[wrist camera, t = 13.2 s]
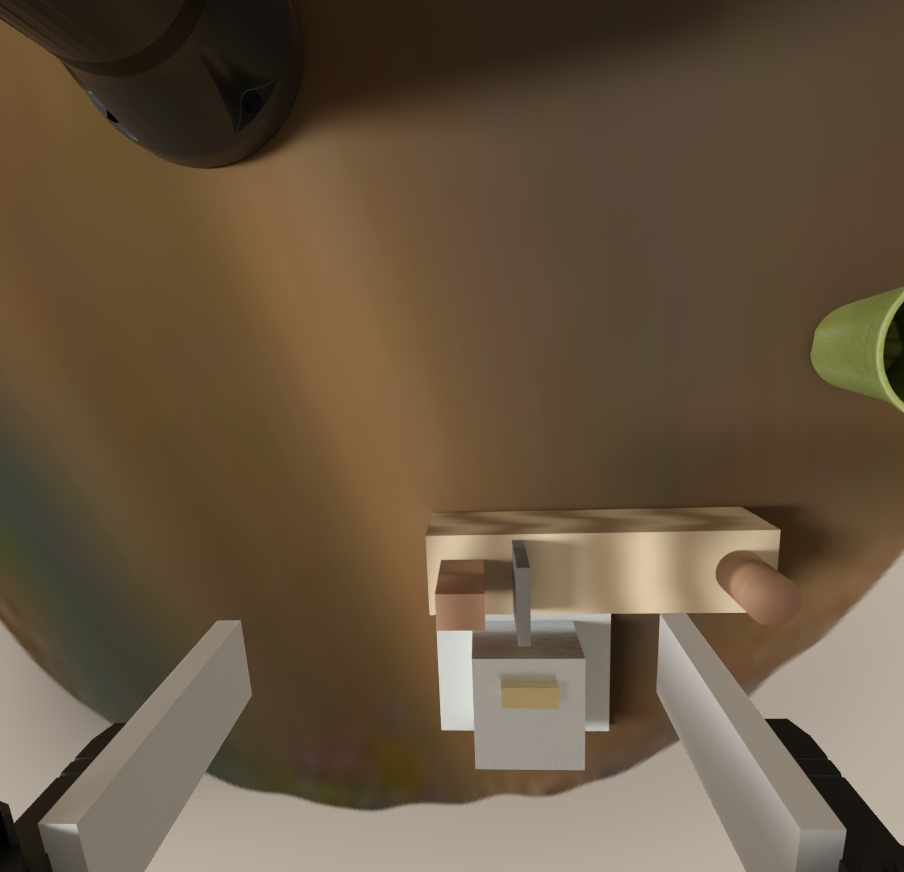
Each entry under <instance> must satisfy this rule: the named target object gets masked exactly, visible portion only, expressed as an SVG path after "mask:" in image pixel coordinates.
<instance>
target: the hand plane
mask: <svg viewBox="0 0 904 872" xmlns="http://www.w3.org/2000/svg"><path fill="white" fill-rule="evenodd" d="M780 532H781V530H780V529H778V528H777V527H775V526H773V525H772V524H770V523H768V522H767V521H765V520H763V519H761V518H760V517H758V516H756V515H755V514H753V513H751V512H750V511H748V510H746V509H745V508H743V507H700V508H650V509H600V510H550V511H499V512H449V513H432V516H431V519H430V523H429V526H428V530H427V533H426V552H427V572H428V592H429V612H430V615H436V630H437V631H485V615H494V614H514V620H515V627H516V635H517V642H518V646H531V614H624V613H748V614H749V615H750V616H751V617H752V618H753V619H754V620H756V621H757V622H759V623H761V624H764V625H768V626H776V625H780V624H783V623H786V622H788V621H789V620H791V619H792V618H793V617H794V616H795V615H796V614H797V612H798V611H799V609H800V606H801V593H800V590H799V588H798V587H797V586H796V584H795V583H793V582H792V581H791V580H789V579H788V578H787V577H785V576H784V575H783V574H781V573H780V572H779V571H777V570H778V557H779V545H780Z"/></svg>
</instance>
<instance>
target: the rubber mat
mask: <svg viewBox="0 0 904 872" xmlns="http://www.w3.org/2000/svg"><path fill="white" fill-rule="evenodd" d="M560 620H572V621H573V624H574V627H575V630H576V633H577V635H578V638H579V641H580V644H581V647H582V650H583V653H584V656H585V658H586V672H585V731H609V697H610V639H611V614H531V621H560ZM485 621H515V620H514V614H494V615H485ZM437 645H438V666H439V687H440V708H441V729H442V730H474V708H473V680H472V631H437Z"/></svg>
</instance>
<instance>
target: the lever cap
mask: <svg viewBox="0 0 904 872" xmlns="http://www.w3.org/2000/svg"><path fill="white" fill-rule="evenodd" d="M585 672H586V658H585V656H584V653H583V650H582V647H581V644H580V641H579V638H578V635H577V633H576V630H575V627H574V624H573V621H572V620H560V621H531V646H518V642H517V635H516V627H515V621H485V631H472V680H473V708H474V736H475V764H476V769H520V770H585Z"/></svg>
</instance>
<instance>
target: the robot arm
mask: <svg viewBox="0 0 904 872" xmlns="http://www.w3.org/2000/svg"><path fill="white" fill-rule="evenodd" d="M0 19H2V20H3V21H5V22H6V23H8V24H9V25H11V26H12V27H13V28H15V29H16V30H18V31H19V32H21V33H22V34H24V35H25V36H27V37H28V38H30V39H31V40H33V41H34V42H36V43H37V44H39V45H40V46H42V47H43V48H44V49H46V50H47V51H49V52H50V53H52V54H53V55H54V56H56V57H57V58H59V60H60V61H61V62H62V64H63V65H64V66H65V67H66V69H67V70H68V71H69V73H70V74H71V75H72V76H73V78H74V79H75V80H76V82H77V83H78V84H79V85H80V86H81V88H82V89H83V90H85V92H86V93H87V95H88V97H89V98H90V99H91V101H92V102H93V103H94V105H95V106H96V107H97V109H98V110H99V111H100V112H101V113H102V115H103V116H104V117H105V118H106V119H107V120H108V121H109V122H110V123H111V124H112V125H113V126H114V127H115V128H116V129H117V130H119V131H120V132H121V133H122V134H124V135H125V136H126V137H127V138H129V139H130V140H132V141H133V142H135V143H137V144H138V145H140V146H141V147H143V148H145V149H146V150H148V151H150V152H151V153H153V154H155V155H156V156H158V157H160V158H162V159H165V160H167V161H170V162H172V163H175V164H179V165H183V166H188V167H196V168H211V167H219V166H224V165H228V164H231V163H234V162H237V161H239V160H241V159H243V158H246V157H247V156H249V155H251V154H252V153H254V152H255V151H257V150H258V149H259V148H261V147H262V146H263V145H264V144H265V143H266V142H268V141H269V140H270V139H271V138H272V136H273V135H274V134H275V133H276V132H277V130H278V129H279V128H280V126H281V125H282V123H283V122H284V120H285V119H286V117H287V115H288V113H289V111H290V109H291V107H292V105H293V102H294V99H295V97H296V94H297V90H298V87H299V82H300V77H301V70H302V39H301V31H300V26H299V21H298V17H297V14H296V11H295V8H294V5H293V2H292V0H0ZM657 694H658V696H659V698H660V700H661V702H662V704H663V706H664V708H665V710H666V712H667V714H668V716H669V718H670V720H671V722H672V724H673V726H674V728H675V730H676V732H677V734H678V736H679V738H680V740H681V742H682V744H683V746H684V748H685V750H686V752H687V754H688V756H689V758H690V760H691V762H692V764H693V766H694V768H695V770H696V772H697V774H698V776H699V778H700V780H701V782H702V784H703V786H704V788H705V790H706V792H707V794H708V796H709V798H710V800H711V802H712V804H713V806H714V808H715V810H716V812H717V814H718V816H719V818H720V820H721V822H722V824H723V826H724V828H725V830H726V832H727V834H728V836H729V838H730V840H731V842H732V844H733V846H734V848H735V850H736V852H737V854H738V856H739V858H740V860H741V862H742V864H743V866H744V868H745V870H746V872H904V846H902V845H900V844H899V843H898V842H897V840H896V839H895V838H894V837H893V836H892V834H891V833H890V832H889V831H888V830H887V828H886V827H885V826H884V825H883V823H882V822H881V821H880V820H879V819H878V817H877V816H876V815H875V814H874V813H873V811H872V810H871V809H870V808H869V807H868V805H867V804H866V803H865V802H864V800H863V799H862V798H861V797H860V796H859V794H858V793H857V792H856V791H855V790H854V788H853V787H852V786H851V785H850V784H849V782H848V781H847V780H846V779H845V778H843V777H842V776H841V773H840V771H839V770H838V769H837V768H836V767H835V765H834V764H833V763H832V762H831V761H830V760H828V758H827V756H826V754H825V753H824V752H823V751H822V750H821V748H820V747H819V746H818V745H817V743H816V742H815V741H814V740H813V739H812V737H811V736H810V735H808V734H807V733H805V732H804V731H803V730H802V729H800V728H799V727H798V726H796V725H795V724H793V723H792V722H791V721H790V720H788V719H764V718H763V717H762V716H761V714H760V712H759V711H758V710H757V709H756V707H755V706H754V704H753V703H752V702H751V700H750V699H749V698H748V696H747V695H746V694H745V692H744V691H743V690H742V688H741V687H740V686H739V684H738V683H737V682H736V680H735V679H734V677H733V676H732V675H731V673H730V672H729V671H728V669H727V668H726V667H725V665H724V664H723V663H722V661H721V660H720V659H719V657H718V656H717V655H716V653H715V652H714V651H713V649H712V648H711V647H710V645H709V644H708V642H707V641H706V640H705V638H704V637H703V636H702V634H701V633H700V632H699V630H698V629H697V628H696V626H695V625H694V624H693V622H692V621H691V620H690V618H689V617H688V616H687V614H686V613H676V614H660V627H659V649H658V670H657ZM251 696H252V693H251V686H250V679H249V673H248V666H247V660H246V653H245V646H244V640H243V633H242V626H241V620H233V621H217V622H216V623H215V624H214V625H213V626H212V627H211V628H210V630H209V631H208V632H207V633H206V634H205V635H204V636H203V637H202V639H201V640H200V641H199V642H198V643H197V644H196V645H195V646H194V648H193V649H192V650H191V651H190V652H189V653H188V654H187V656H186V657H185V658H184V659H183V660H182V661H181V662H180V663H179V665H178V666H177V667H176V668H175V669H174V670H173V671H172V673H171V674H170V675H169V676H168V677H167V678H166V679H165V680H164V682H163V683H162V684H161V685H160V686H159V687H158V688H157V689H156V691H155V692H154V693H153V694H152V695H151V696H150V697H149V699H148V700H147V701H146V702H145V703H144V704H143V705H142V706H141V708H140V709H139V710H138V711H137V712H136V713H135V714H134V715H133V717H132V718H131V719H130V720H129V721H128V722H127V723H115V724H113V725H112V726H111V727H109V728H108V729H106V730H105V731H104V732H102V733H101V734H99V735H98V736H96V737H95V738H94V739H92V740H91V742H90V743H89V744H88V745H87V746H86V747H85V748H84V749H83V750H82V751H81V752H80V753H79V754H78V756H77V757H76V758H75V761H74V762H71V763H70V764H69V765H68V766H67V767H66V768H65V770H63V772H62V773H61V775H60V777H59V778H56V779H55V780H54V781H53V782H52V783H51V784H50V785H49V787H48V788H47V789H46V790H45V791H44V792H43V793H42V794H41V795H40V797H38V798H37V799H36V800H35V802H34V803H33V804H32V805H31V806H30V807H29V808H28V809H27V810H26V811H25V812H24V813H23V814H22V816H21V817H20V818H19V819H18V820H17V821H16V822H15V823H14V822H13V819H12V815H11V811H10V808H9V805H8V804H6V803H3V802H1V801H0V872H144V871H145V870H146V868H147V866H148V865H149V863H150V862H151V860H152V858H153V857H154V855H155V853H156V851H157V850H158V848H159V847H160V845H161V843H162V842H163V840H164V838H165V837H166V835H167V834H168V832H169V830H170V829H171V827H172V825H173V824H174V822H175V820H176V819H177V817H178V816H179V814H180V812H181V811H182V809H183V807H184V806H185V804H186V803H187V801H188V799H189V797H190V796H191V794H192V793H193V791H194V789H195V788H196V786H197V784H198V783H199V781H200V779H201V778H202V776H203V775H204V773H205V771H206V770H207V768H208V766H209V765H210V763H211V761H212V760H213V758H214V757H215V755H216V753H217V752H218V750H219V748H220V747H221V745H222V743H223V742H224V740H225V739H226V737H227V735H228V734H229V732H230V730H231V729H232V727H233V725H234V724H235V722H236V720H237V719H238V717H239V716H240V714H241V712H242V711H243V709H244V707H245V706H246V704H247V702H248V701H249V699H250V698H251Z"/></svg>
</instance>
